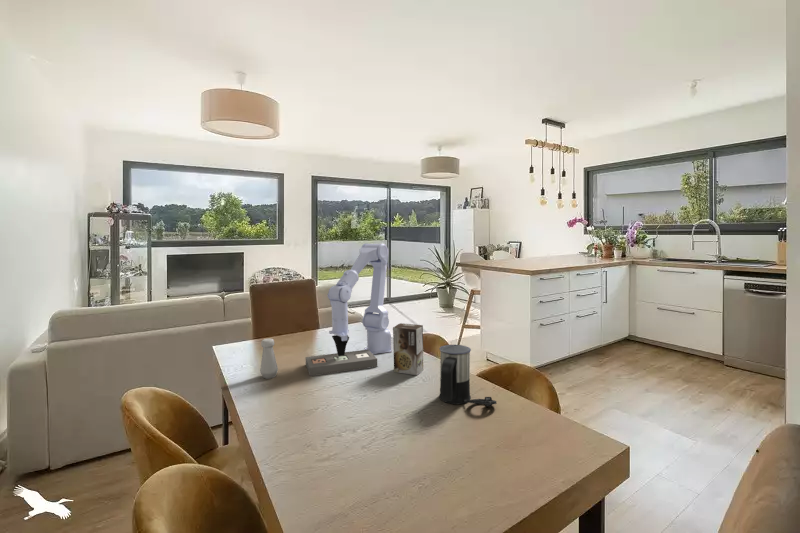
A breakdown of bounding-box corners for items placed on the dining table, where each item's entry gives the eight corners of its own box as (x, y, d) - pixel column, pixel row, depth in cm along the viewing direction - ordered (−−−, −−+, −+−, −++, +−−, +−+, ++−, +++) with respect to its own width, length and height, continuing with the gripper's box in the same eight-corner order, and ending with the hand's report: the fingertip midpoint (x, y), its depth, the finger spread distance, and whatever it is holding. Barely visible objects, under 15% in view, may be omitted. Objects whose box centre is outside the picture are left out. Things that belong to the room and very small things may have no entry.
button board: (368, 356, 151) (368, 349, 151) (377, 366, 140) (377, 358, 140) (305, 364, 143) (305, 357, 143) (310, 376, 132) (309, 367, 131)
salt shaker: (281, 374, 134) (280, 337, 132) (271, 380, 128) (269, 342, 127) (267, 372, 136) (266, 336, 134) (256, 378, 130) (254, 340, 129)
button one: (366, 359, 147) (366, 352, 147) (369, 362, 143) (369, 356, 143) (355, 360, 146) (355, 354, 145) (358, 364, 141) (357, 357, 141)
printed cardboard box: (424, 369, 137) (423, 324, 135) (417, 375, 131) (416, 329, 129) (400, 366, 141) (400, 322, 139) (392, 372, 135) (392, 326, 133)
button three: (324, 364, 142) (324, 357, 141) (326, 368, 137) (326, 361, 137) (312, 366, 140) (311, 359, 140) (313, 370, 136) (313, 363, 136)
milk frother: (439, 390, 119) (439, 343, 117) (491, 392, 117) (492, 344, 116) (438, 412, 105) (438, 358, 103) (498, 414, 103) (499, 360, 101)
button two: (345, 362, 144) (345, 355, 144) (348, 365, 140) (348, 358, 140) (334, 363, 143) (333, 356, 143) (336, 367, 139) (336, 360, 138)
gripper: (325, 315, 145) (326, 350, 147) (332, 324, 132) (333, 362, 133) (344, 313, 148) (345, 348, 149) (352, 322, 134) (353, 360, 135)
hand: (341, 355), depth 141 cm, fingers closed
